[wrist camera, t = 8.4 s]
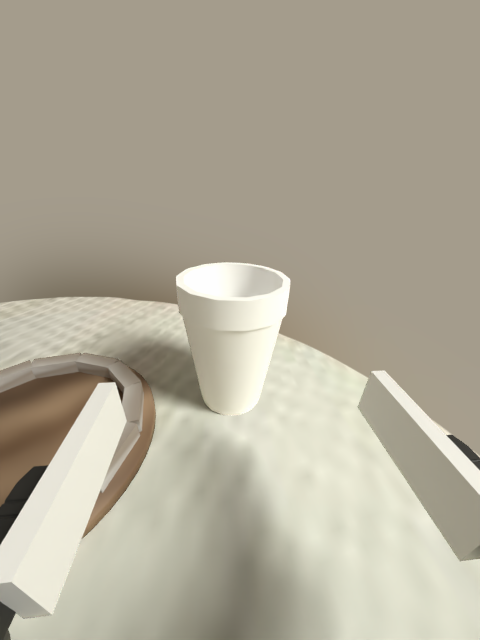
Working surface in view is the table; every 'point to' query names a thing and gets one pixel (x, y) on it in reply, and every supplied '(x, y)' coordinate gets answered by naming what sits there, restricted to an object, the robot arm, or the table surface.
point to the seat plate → (70, 419)
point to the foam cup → (232, 329)
